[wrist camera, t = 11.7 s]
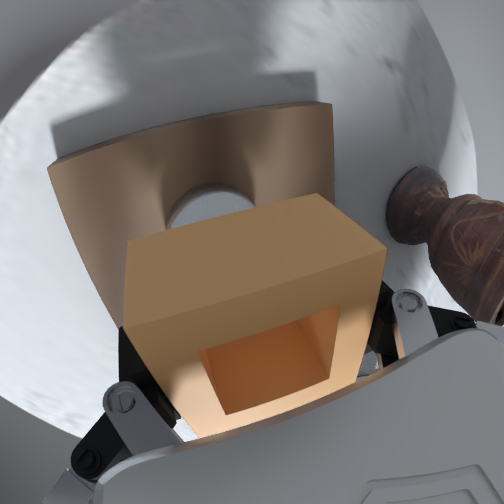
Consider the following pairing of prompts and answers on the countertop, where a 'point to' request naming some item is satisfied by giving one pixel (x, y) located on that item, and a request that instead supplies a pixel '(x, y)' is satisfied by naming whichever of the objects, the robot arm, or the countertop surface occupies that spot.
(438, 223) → the mortar and pestle
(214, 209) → the silver round flared piece
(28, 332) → the countertop surface
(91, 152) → the board
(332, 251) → the collar
